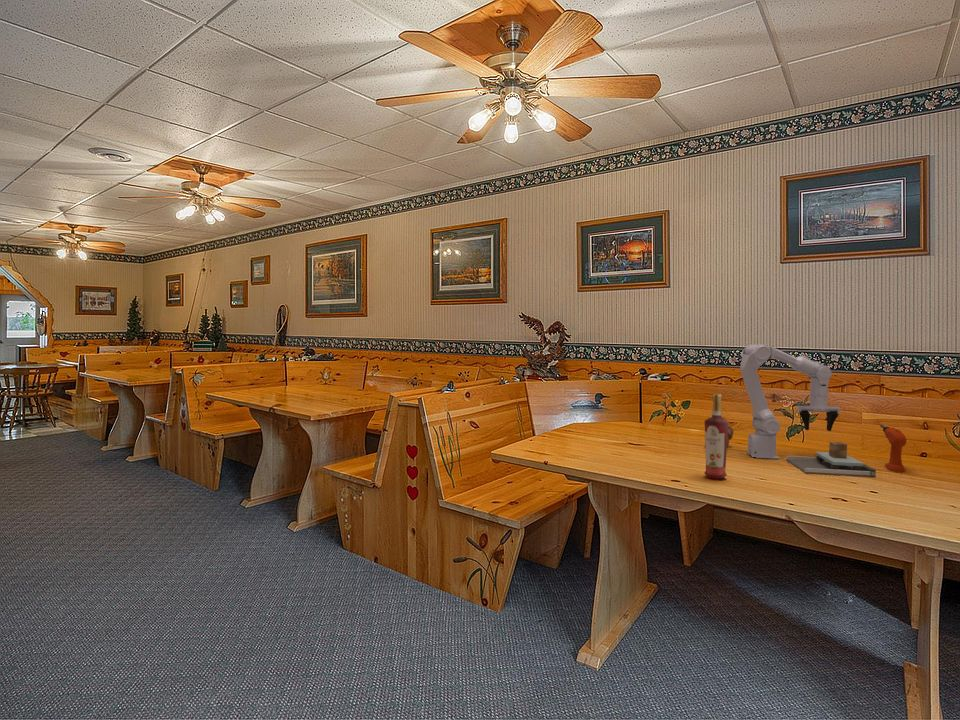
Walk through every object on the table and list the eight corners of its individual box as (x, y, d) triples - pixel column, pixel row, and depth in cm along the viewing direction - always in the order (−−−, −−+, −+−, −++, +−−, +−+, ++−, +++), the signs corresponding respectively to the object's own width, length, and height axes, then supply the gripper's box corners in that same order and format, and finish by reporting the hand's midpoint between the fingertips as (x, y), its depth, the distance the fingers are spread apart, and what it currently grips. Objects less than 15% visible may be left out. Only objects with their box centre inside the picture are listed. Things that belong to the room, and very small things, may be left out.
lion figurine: (726, 445, 226) (726, 424, 226) (736, 447, 222) (737, 426, 221) (700, 448, 221) (701, 426, 220) (710, 450, 216) (711, 428, 215)
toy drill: (886, 456, 198) (889, 418, 195) (907, 475, 181) (911, 433, 178) (870, 455, 200) (874, 417, 197) (890, 474, 182) (894, 432, 180)
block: (833, 458, 184) (834, 443, 184) (829, 455, 188) (829, 441, 188) (846, 458, 184) (847, 444, 183) (841, 456, 187) (842, 442, 187)
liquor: (730, 477, 175) (732, 394, 173) (722, 482, 170) (724, 396, 168) (708, 473, 180) (710, 392, 179) (699, 477, 175) (701, 394, 173)
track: (805, 473, 180) (805, 466, 180) (786, 460, 198) (786, 454, 198) (875, 477, 175) (875, 469, 175) (849, 463, 193) (850, 456, 193)
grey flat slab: (833, 471, 179) (833, 461, 179) (814, 460, 195) (815, 451, 194) (863, 473, 177) (863, 463, 177) (842, 461, 192) (842, 452, 192)
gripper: (801, 396, 201) (800, 431, 202) (844, 397, 197) (843, 432, 198) (795, 394, 208) (794, 428, 208) (836, 395, 204) (835, 429, 205)
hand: (817, 430), depth 204 cm, fingers open, 7 cm apart
